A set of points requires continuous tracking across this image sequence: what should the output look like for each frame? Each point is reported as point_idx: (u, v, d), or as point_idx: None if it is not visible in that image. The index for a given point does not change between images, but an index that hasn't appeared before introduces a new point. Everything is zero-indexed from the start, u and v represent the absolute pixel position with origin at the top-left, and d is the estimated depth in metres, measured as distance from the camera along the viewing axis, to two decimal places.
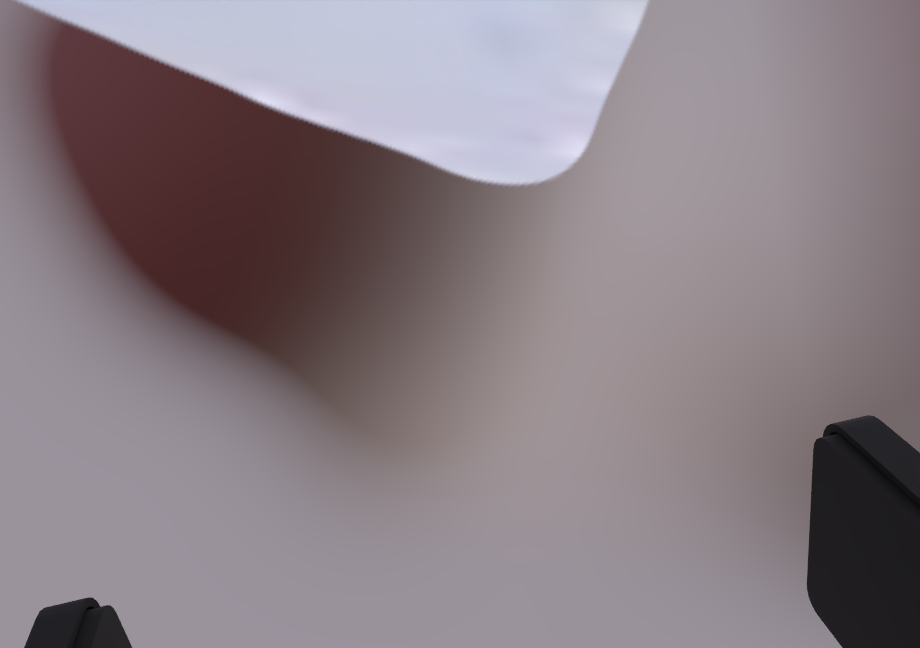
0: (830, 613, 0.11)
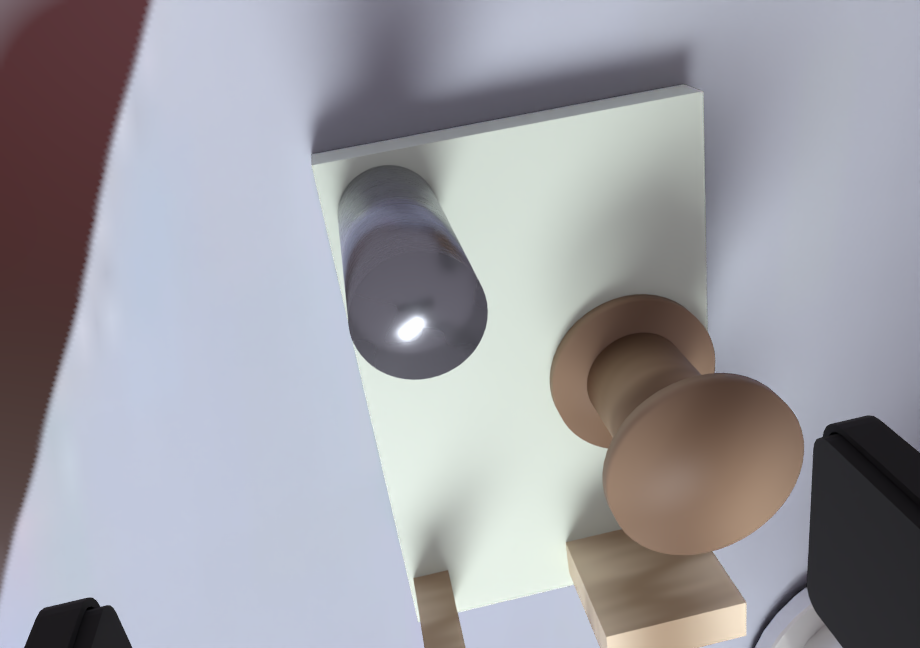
0: (830, 613, 0.11)
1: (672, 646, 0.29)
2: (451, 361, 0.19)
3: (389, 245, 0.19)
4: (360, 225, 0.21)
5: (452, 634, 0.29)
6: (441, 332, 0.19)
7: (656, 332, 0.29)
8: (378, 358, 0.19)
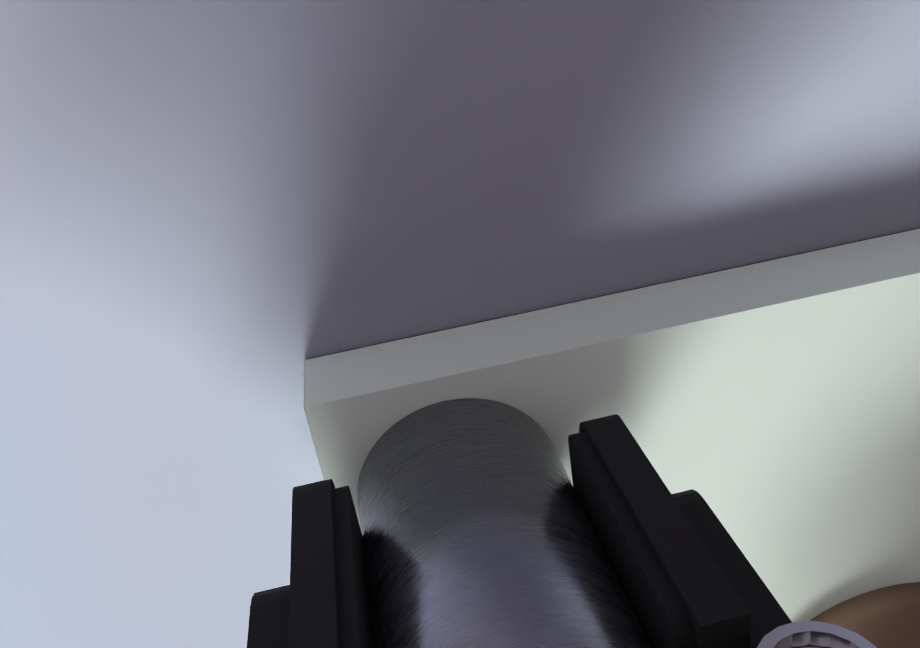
0: None
1: None
2: None
3: None
4: None
5: None
6: None
7: None
8: None
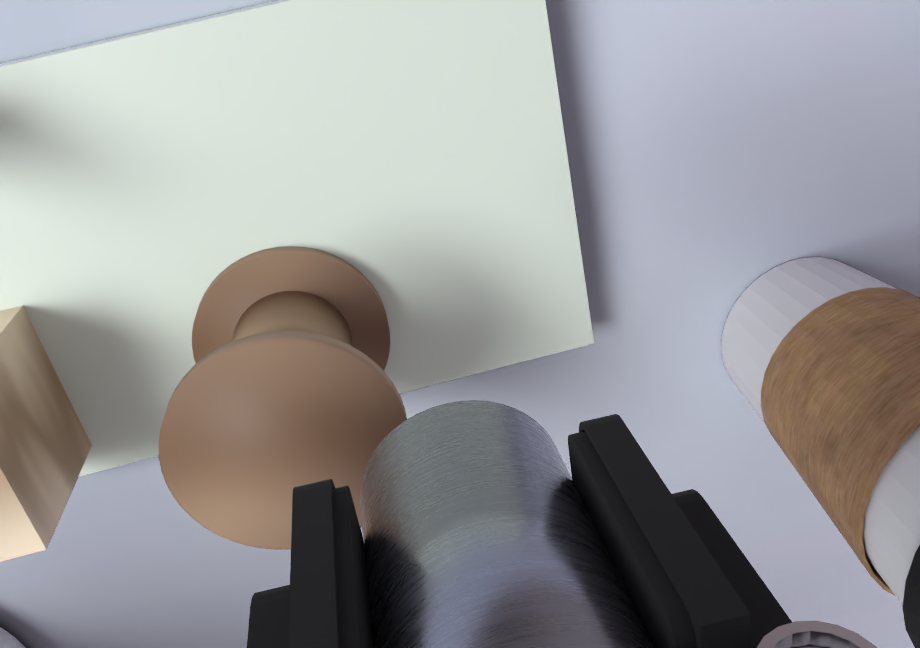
0: None
1: None
2: None
3: None
4: None
5: None
6: None
7: None
8: None
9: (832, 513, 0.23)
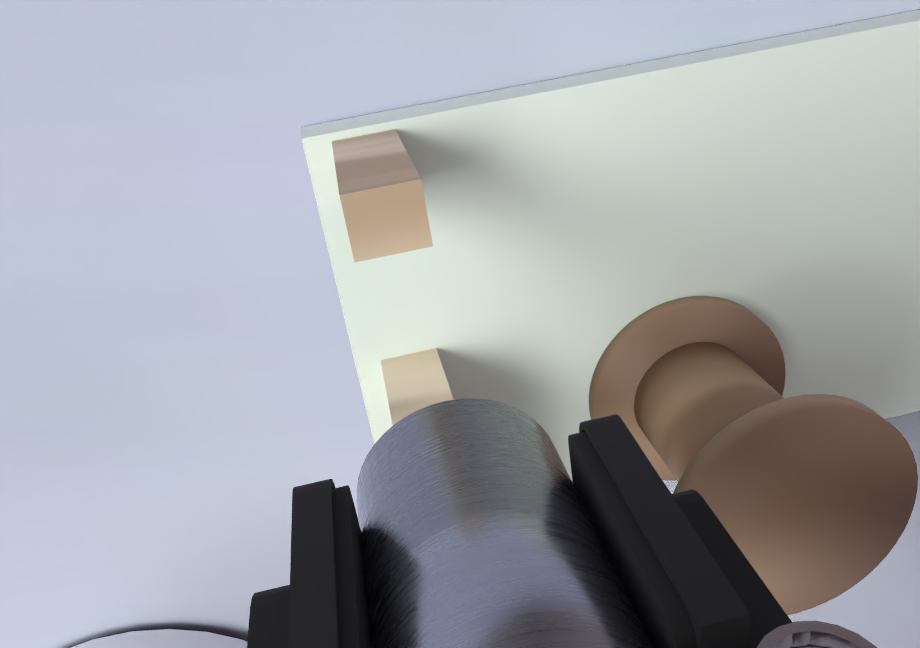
0: None
1: None
2: None
3: None
4: None
5: None
6: None
7: None
8: None
9: None
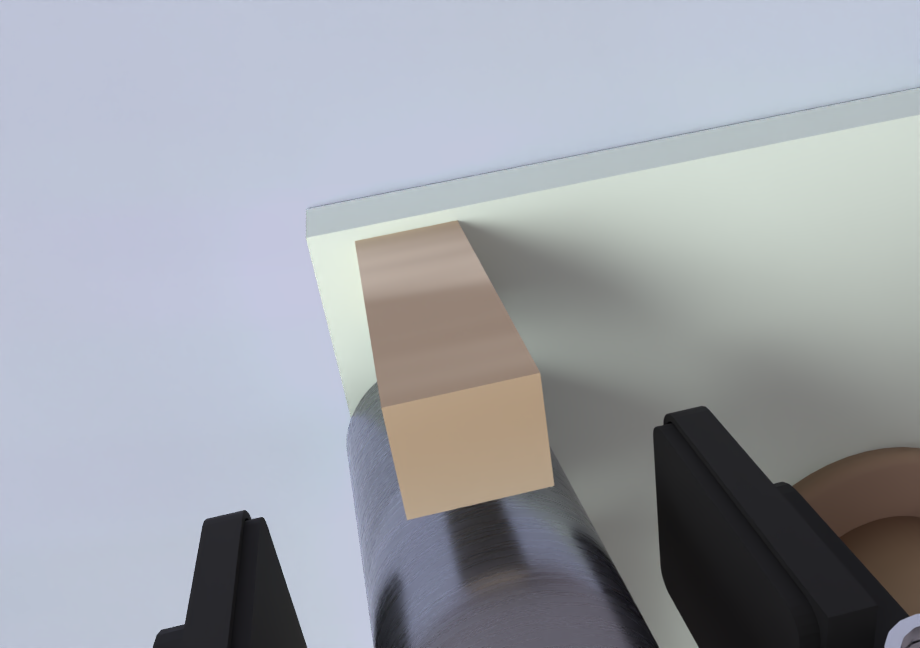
0: (675, 592, 0.12)
1: None
2: None
3: None
4: (416, 577, 0.09)
5: None
6: None
7: None
8: None
9: None
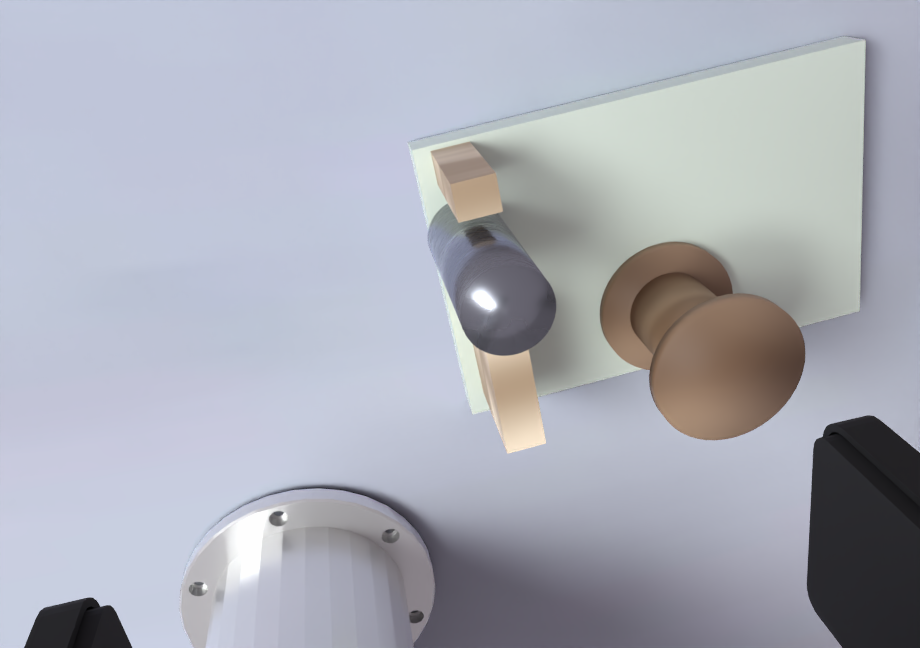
0: (830, 613, 0.11)
1: (504, 393, 0.31)
2: (531, 341, 0.27)
3: (485, 261, 0.27)
4: (457, 246, 0.29)
5: None
6: (524, 321, 0.27)
7: None
8: (480, 341, 0.27)
9: None
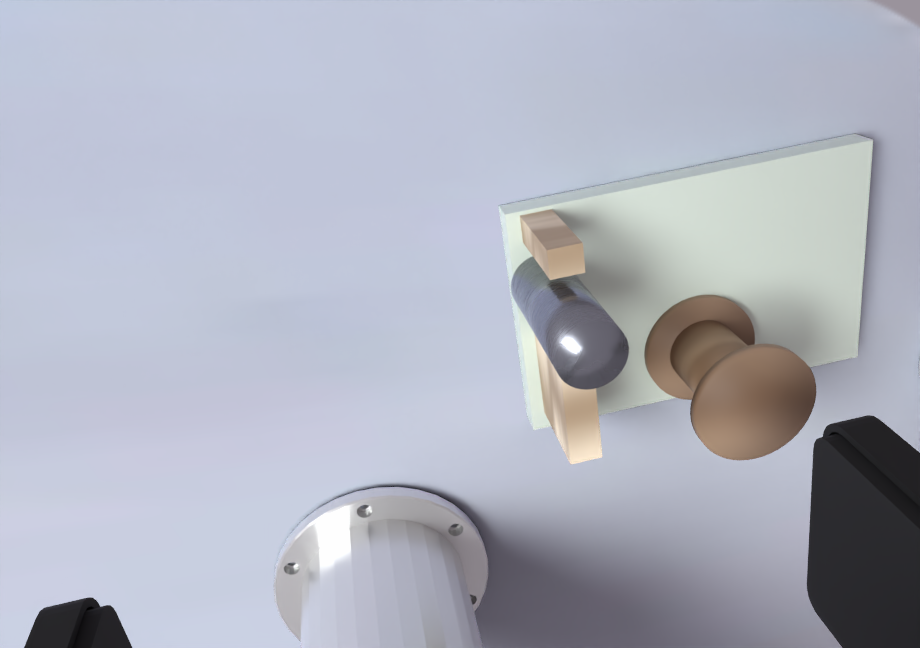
0: (830, 613, 0.11)
1: (573, 415, 0.39)
2: (606, 379, 0.35)
3: (575, 316, 0.34)
4: (546, 299, 0.36)
5: None
6: (603, 363, 0.34)
7: None
8: (568, 377, 0.34)
9: None
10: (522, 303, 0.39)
